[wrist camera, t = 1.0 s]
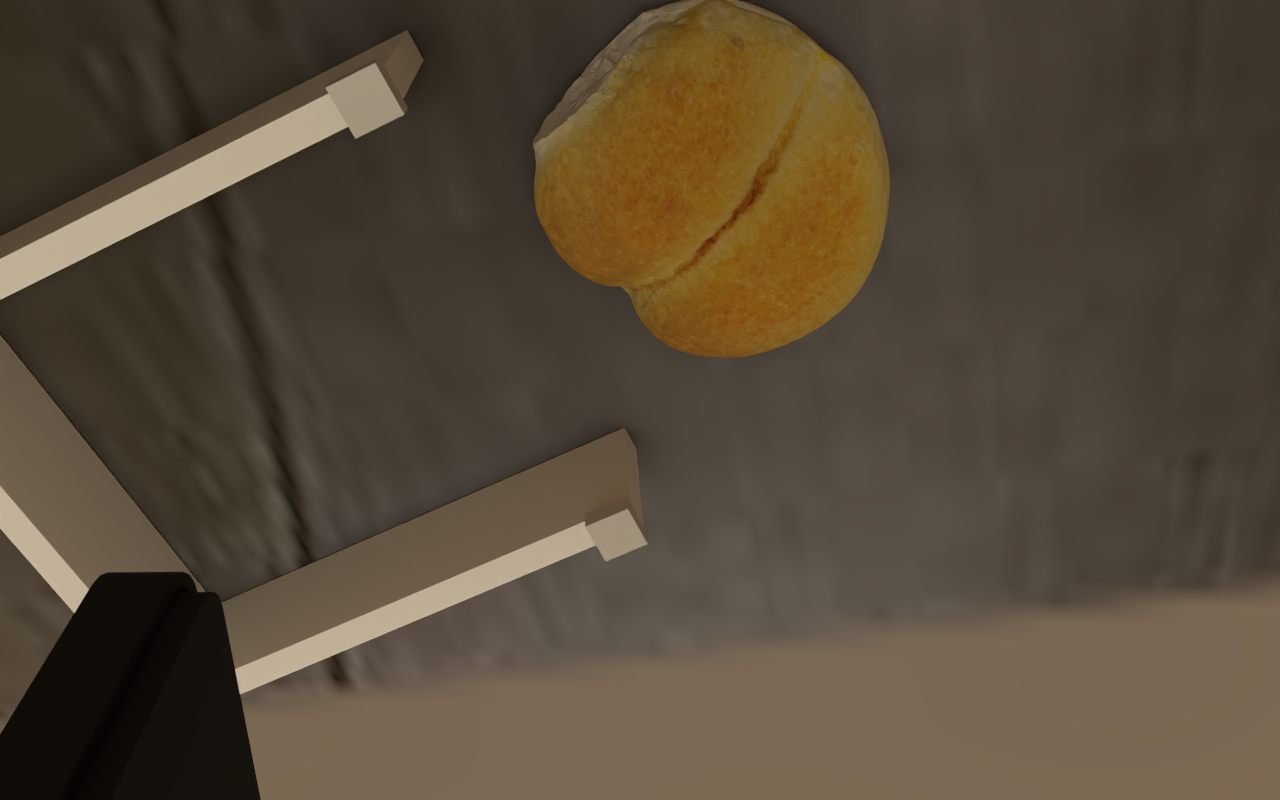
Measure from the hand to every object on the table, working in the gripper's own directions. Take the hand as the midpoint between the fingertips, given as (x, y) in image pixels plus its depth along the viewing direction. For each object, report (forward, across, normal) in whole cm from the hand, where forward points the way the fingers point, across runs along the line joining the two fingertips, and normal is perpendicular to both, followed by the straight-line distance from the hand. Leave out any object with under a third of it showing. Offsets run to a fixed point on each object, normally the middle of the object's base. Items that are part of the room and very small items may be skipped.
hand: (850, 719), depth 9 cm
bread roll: (+24, -1, +3) cm, 24 cm away
